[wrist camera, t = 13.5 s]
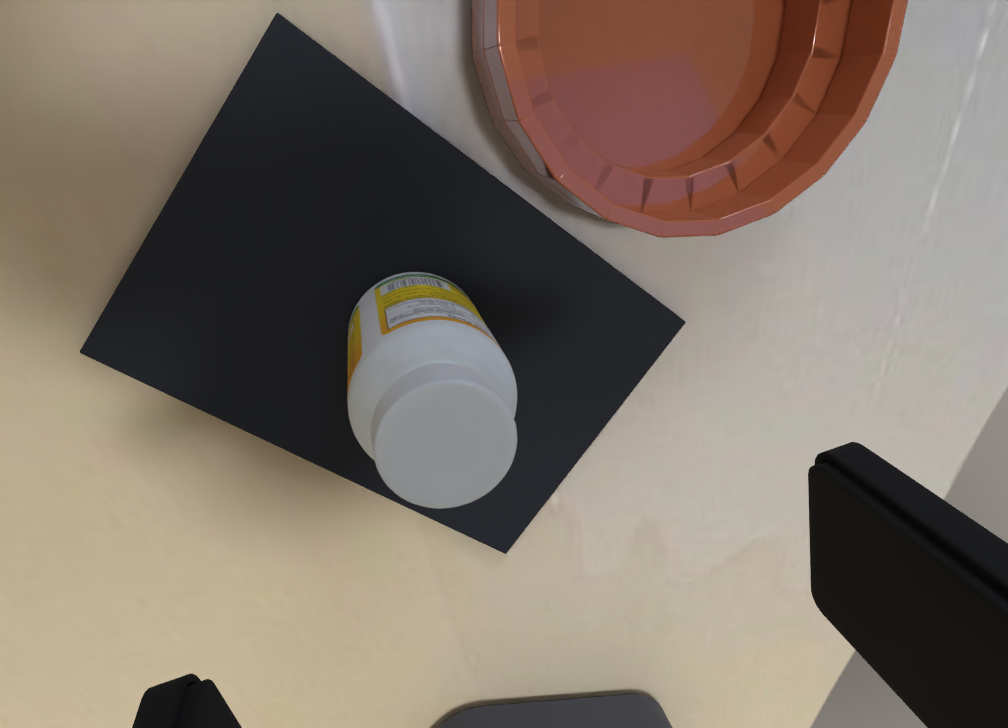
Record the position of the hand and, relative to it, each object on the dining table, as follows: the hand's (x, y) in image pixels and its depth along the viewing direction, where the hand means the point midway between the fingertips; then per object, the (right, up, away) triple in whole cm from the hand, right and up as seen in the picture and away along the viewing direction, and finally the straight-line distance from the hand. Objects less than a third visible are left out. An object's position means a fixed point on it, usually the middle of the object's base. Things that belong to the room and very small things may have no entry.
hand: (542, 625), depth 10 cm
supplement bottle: (-4, +5, +17) cm, 18 cm away
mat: (-4, +5, +17) cm, 18 cm away
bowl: (+5, +17, +15) cm, 23 cm away
